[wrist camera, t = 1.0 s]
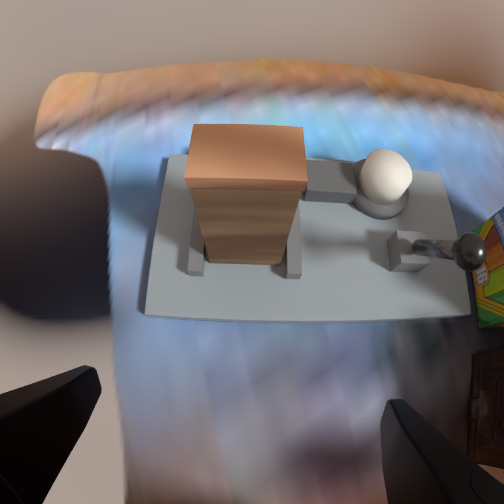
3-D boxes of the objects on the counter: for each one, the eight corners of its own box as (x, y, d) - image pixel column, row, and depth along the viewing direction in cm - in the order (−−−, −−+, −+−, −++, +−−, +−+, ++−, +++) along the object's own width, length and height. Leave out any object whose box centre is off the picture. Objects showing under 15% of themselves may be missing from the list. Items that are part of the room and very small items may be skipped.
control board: (464, 316, 23) (495, 303, 19) (148, 317, 23) (128, 303, 19) (436, 177, 28) (456, 151, 24) (171, 159, 28) (162, 127, 24)
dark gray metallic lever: (426, 262, 22) (492, 273, 14) (402, 261, 22) (465, 273, 14) (427, 232, 22) (494, 233, 14) (403, 231, 22) (467, 230, 14)
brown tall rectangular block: (281, 266, 23) (307, 181, 13) (208, 264, 23) (184, 177, 13) (280, 226, 24) (302, 127, 14) (211, 224, 24) (193, 124, 14)
